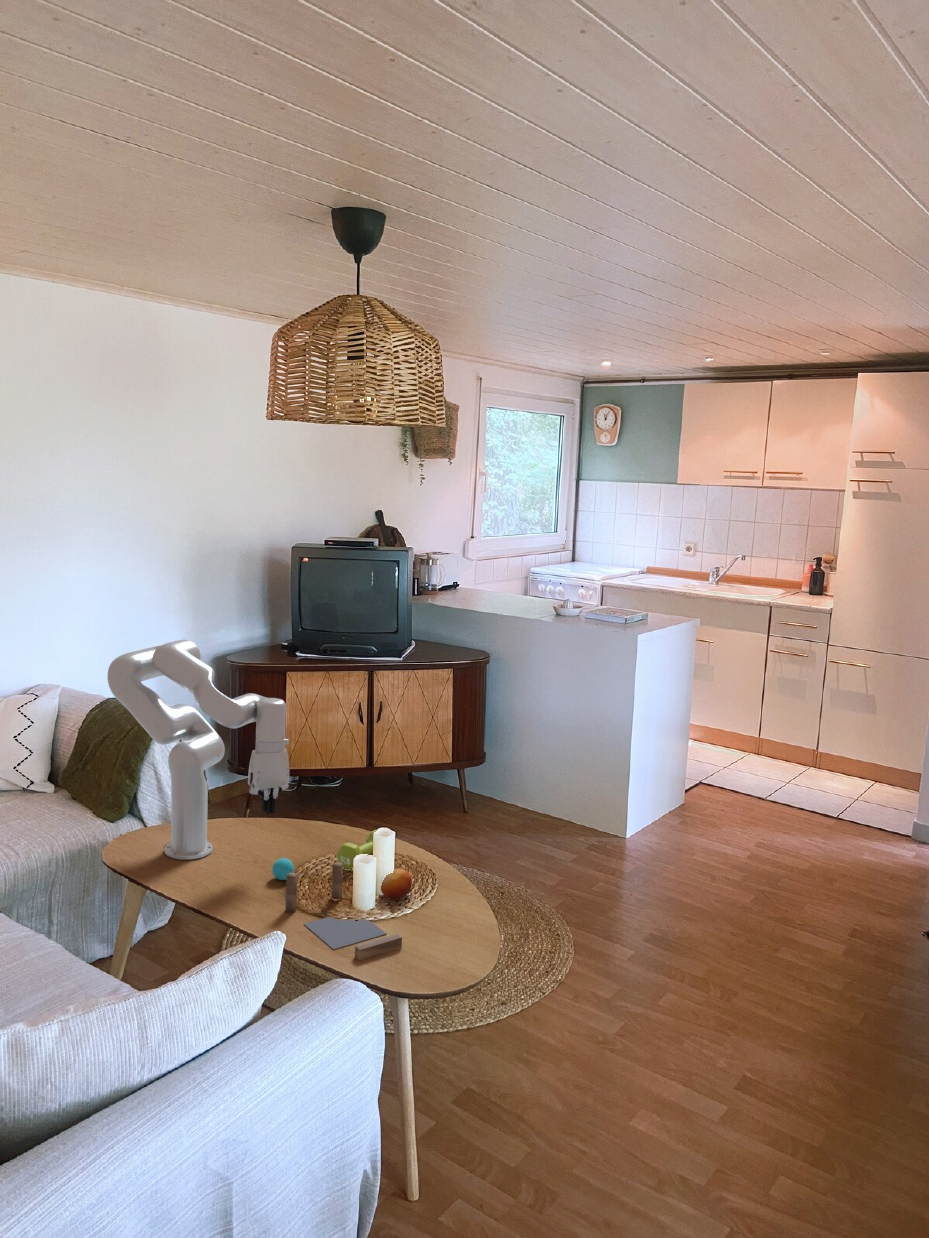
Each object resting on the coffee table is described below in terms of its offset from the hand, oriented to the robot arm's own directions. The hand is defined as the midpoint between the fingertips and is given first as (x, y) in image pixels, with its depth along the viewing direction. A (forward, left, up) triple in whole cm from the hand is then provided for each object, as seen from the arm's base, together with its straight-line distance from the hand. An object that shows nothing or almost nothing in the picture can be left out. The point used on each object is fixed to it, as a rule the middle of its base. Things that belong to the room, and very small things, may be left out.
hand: (268, 812), depth 246 cm
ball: (+9, 0, -12) cm, 16 cm away
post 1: (+26, -6, -15) cm, 31 cm away
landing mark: (+41, 0, -15) cm, 44 cm away
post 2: (+26, +6, -15) cm, 31 cm away
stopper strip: (+54, +1, -15) cm, 57 cm away
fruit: (+32, +20, -15) cm, 41 cm away
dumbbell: (+10, +24, -15) cm, 30 cm away
